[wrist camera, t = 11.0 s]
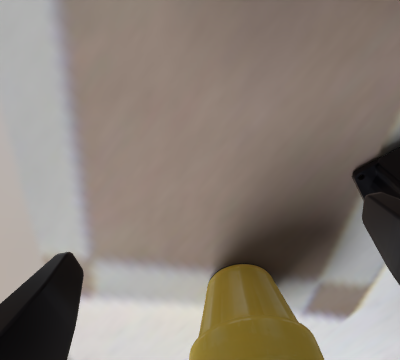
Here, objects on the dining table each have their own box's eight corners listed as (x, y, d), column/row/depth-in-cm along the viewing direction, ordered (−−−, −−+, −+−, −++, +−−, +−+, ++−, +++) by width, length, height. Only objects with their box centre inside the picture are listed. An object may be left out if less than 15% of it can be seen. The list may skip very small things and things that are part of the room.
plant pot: (172, 264, 26) (166, 383, 18) (281, 236, 25) (329, 350, 17) (205, 324, 32) (212, 438, 23) (296, 304, 30) (338, 416, 22)
